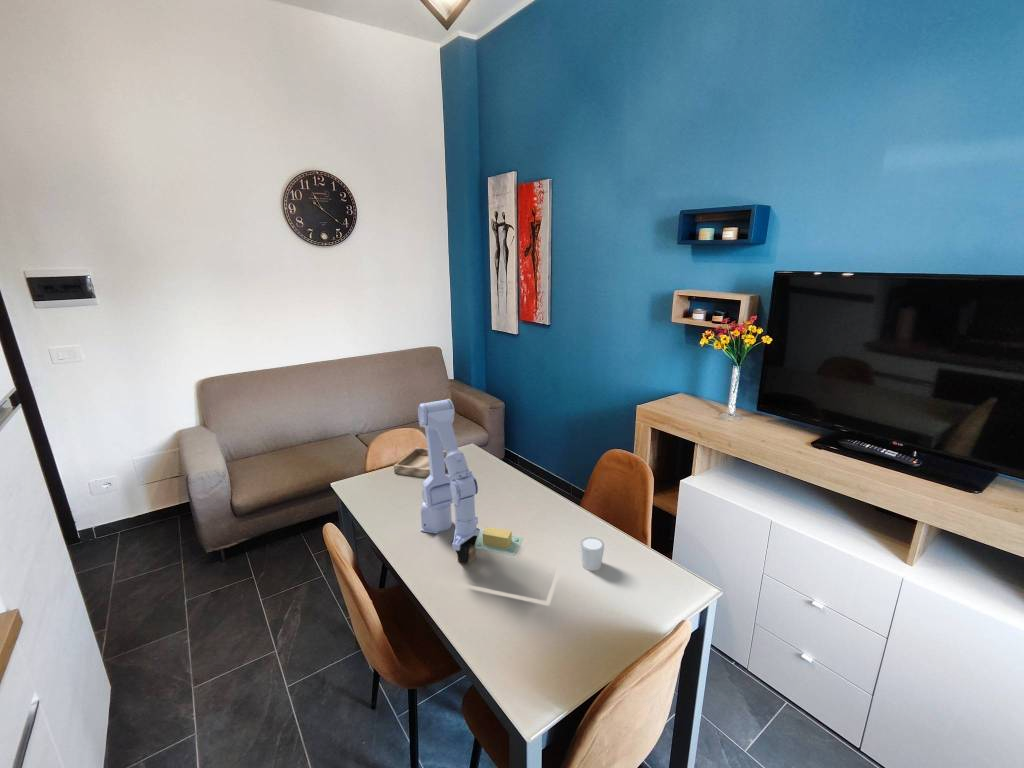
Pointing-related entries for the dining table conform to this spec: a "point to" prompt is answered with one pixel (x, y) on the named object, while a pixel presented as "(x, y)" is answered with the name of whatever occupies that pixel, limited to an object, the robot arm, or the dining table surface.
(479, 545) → the plate
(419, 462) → the tan wooden shallow tray
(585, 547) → the shot glass
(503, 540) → the ochre brick
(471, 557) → the walnut block
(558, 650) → the dining table surface
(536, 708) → the dining table surface
